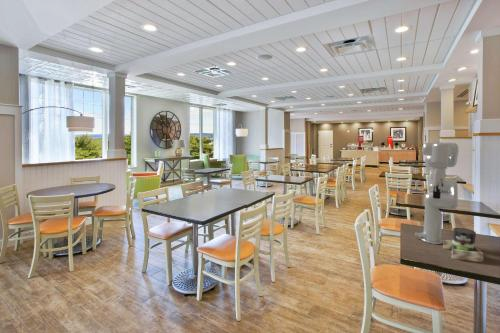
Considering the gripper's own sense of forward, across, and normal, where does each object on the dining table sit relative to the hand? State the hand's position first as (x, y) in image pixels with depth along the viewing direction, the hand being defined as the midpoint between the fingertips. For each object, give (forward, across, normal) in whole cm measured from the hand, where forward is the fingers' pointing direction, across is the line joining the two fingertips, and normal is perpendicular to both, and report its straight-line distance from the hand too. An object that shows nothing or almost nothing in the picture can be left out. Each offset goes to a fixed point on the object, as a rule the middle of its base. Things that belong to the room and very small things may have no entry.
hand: (436, 198), depth 154 cm
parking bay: (+33, -7, +16) cm, 37 cm away
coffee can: (+33, -8, +17) cm, 38 cm away
